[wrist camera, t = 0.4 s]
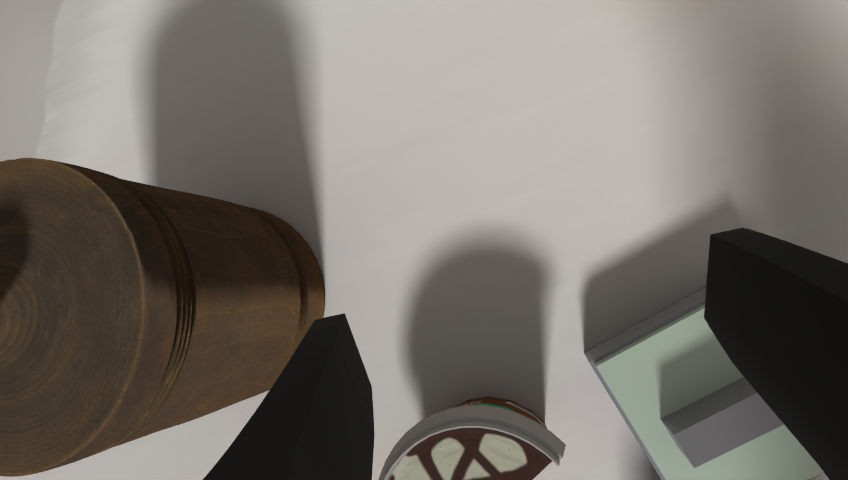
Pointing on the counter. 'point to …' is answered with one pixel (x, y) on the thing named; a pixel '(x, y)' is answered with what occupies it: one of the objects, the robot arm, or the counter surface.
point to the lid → (700, 408)
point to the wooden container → (135, 309)
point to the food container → (475, 444)
